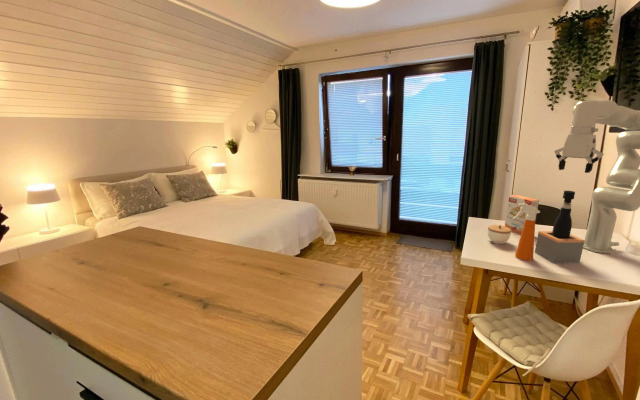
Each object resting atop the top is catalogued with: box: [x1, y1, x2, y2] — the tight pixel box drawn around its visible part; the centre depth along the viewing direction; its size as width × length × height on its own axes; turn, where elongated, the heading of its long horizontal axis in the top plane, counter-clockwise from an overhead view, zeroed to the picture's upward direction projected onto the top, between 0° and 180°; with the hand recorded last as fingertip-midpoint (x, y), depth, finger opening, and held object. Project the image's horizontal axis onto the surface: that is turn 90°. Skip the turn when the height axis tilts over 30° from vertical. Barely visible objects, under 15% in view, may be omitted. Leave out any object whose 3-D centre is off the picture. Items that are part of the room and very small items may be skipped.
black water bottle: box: [551, 190, 576, 239], centre depth 137 cm, size 6×6×30 cm
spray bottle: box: [513, 203, 541, 261], centre depth 138 cm, size 7×11×26 cm, turn 77°
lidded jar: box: [487, 224, 512, 245], centre depth 159 cm, size 11×11×9 cm
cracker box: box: [504, 194, 540, 235], centre depth 172 cm, size 14×6×21 cm, turn 17°
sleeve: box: [534, 230, 585, 264], centre depth 139 cm, size 12×12×11 cm
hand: (574, 171), depth 131 cm, fingers open, 9 cm apart
